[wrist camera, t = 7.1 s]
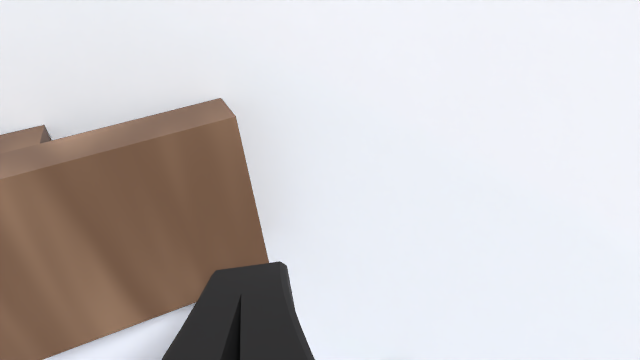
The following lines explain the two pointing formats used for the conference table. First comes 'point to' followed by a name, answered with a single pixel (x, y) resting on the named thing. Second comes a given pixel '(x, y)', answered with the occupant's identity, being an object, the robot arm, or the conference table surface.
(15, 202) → the brown wooden block
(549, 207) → the conference table surface
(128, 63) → the conference table surface
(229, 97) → the conference table surface
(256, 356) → the robot arm
